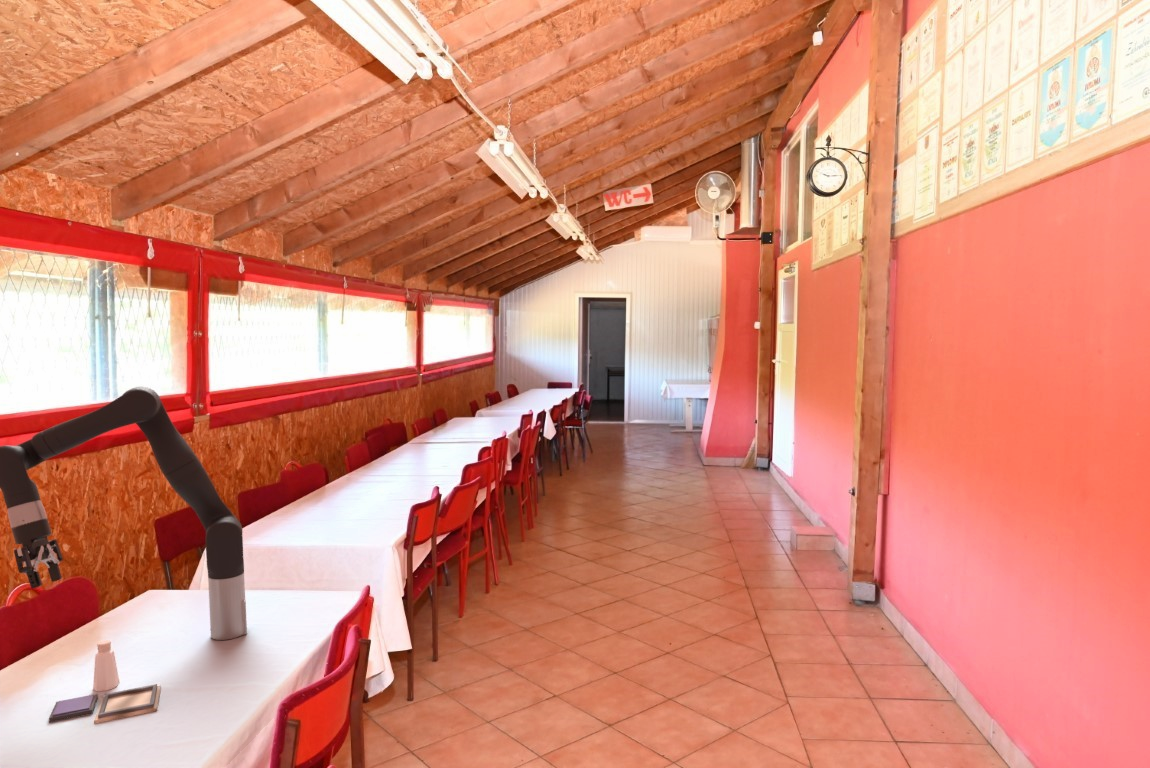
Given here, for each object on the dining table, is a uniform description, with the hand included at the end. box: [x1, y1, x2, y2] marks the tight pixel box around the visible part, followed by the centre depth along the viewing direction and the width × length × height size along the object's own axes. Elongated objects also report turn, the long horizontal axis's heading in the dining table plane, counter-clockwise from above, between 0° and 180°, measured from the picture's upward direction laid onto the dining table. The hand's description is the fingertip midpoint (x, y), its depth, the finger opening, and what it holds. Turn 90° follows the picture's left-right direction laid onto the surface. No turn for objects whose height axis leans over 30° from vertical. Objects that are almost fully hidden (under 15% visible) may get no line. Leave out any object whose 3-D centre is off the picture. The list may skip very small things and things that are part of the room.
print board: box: [93, 683, 162, 724], centre depth 169 cm, size 12×12×1 cm
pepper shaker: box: [92, 639, 120, 692], centre depth 177 cm, size 5×5×11 cm
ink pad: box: [48, 693, 99, 723], centre depth 167 cm, size 8×8×1 cm
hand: (47, 583), depth 185 cm, fingers open, 8 cm apart
